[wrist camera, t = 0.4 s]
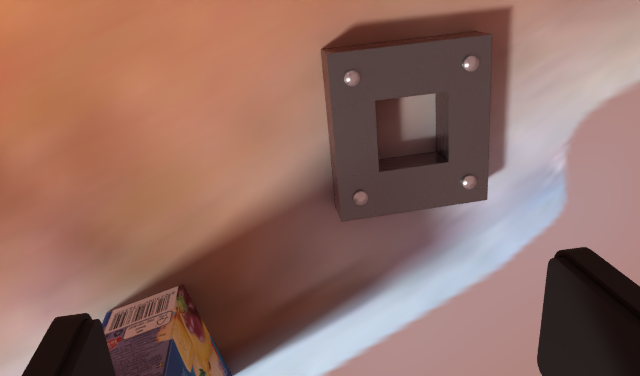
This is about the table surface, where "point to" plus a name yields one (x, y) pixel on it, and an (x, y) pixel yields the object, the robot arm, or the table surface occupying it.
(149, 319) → the juice carton
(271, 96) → the table surface
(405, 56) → the gray square socket plate
